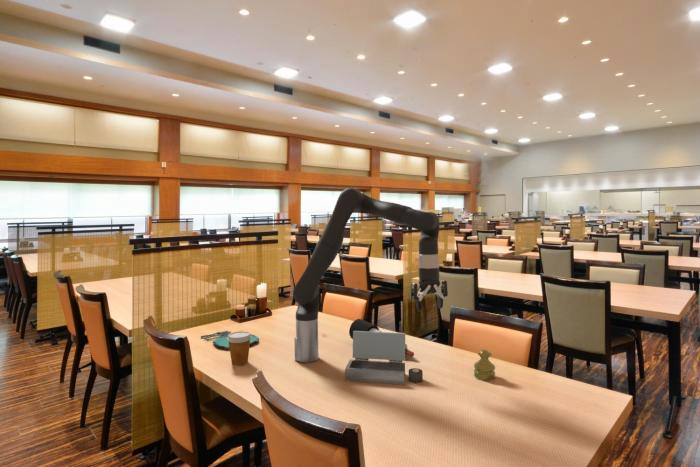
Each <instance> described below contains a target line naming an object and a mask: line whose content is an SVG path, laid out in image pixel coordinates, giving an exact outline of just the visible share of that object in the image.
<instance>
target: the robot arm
mask: <svg viewBox="0 0 700 467" xmlns="http://www.w3.org/2000/svg"><path fill="white" fill-rule="evenodd" d="M353 214H366V215H372V216H376V217H378V218H382V219H385V220H387V221H390V222H393V223H396V224H400V225H404V226H408V227H410V228H412V229H415V230H417V231H420V239H419V241H418V259H417V260H418V263H417V264H418V265H417V266H418V280H419V281H418V283H415V282H411V286H410V298H411V300H414V301H415V307H416V310H417V311H418V312H423V301H422V300H423V298H424V297H425V296H426V295H430V294H435V295H436V297H437V298H436V300H437V301H436V302H437V303H436V304H437V305H436V306H437V308H438V309H443V306H444V298H445V297H448V296H449V294H448V292H449V291H448V282H447V280H444V279H440V257H439V243H438V240H439V234H440V233H439V232H440V219H439V218H440V217H439V216H438V215H437V214H436V213H435V212H433V211H422V210H418V209H414V208H412V207H411V206H407V205H404V204H399V203H396V202H392V201H391V202H390V201H385V200H384V201H383V200H378V199H376V198H373V197H371V196H369V195H366V194H364V193H363V192H361V191H360V190H357V189H355V188H353V187H347V188H345V189H343V191H341V193H340V194H339V195H338V198H337V200H336V203H335V206H334V208H333V211H332V213H331V216H330V218H329V220H328V222H327V224H326V225H325V228H324V230H323V231H322V234H321V236H320V237H319V239H318V241H317V243H316V245H315V247H314V250H313V252H312V254H311V256H310V259H309V261H308V263H307V265H306V268H305V270H304V271H303V273H302V275H301V276H300V278H299V279H298V281H297V283H296V284H295V285H294V287H293V289H292V290H293V291H292V296H293V299H294V300H295V302H296V303H297V308H296V312H295V337H294V361H296V362H300V363H306V364H307V363H314V362H316V361H317V360H319V312H320V287H319V283H320V282H321V279H322V277H323V276H324V274H325V273H326V272H327V271H328V269H329V268H330V267H331V265H332V264H333V262H334V261H335V259H336V257H337V256H338V253H339V252H340V250H341V249H342V245H343V242H344V237H345V231H346V225H347V224H348V223H349V220H350V218H351V216H352V215H353ZM439 287H440V288H439ZM418 289H419V290H418Z"/></svg>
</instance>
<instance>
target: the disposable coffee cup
mask: <svg viewBox="0 0 700 467" xmlns="http://www.w3.org/2000/svg"><path fill="white" fill-rule="evenodd" d="M250 334H251V333H250V331H245V330H241V331H239V330H238V331H233V332H231V333H230V334H228V338H227V340H228V342H229V348H230V349H229V352H230V359H231V360H230V361H231V365H232V366H233V367H234V366H235V367H241V366H245V365H247V364H248V363H249V354H250V339H251V335H252V334H251V335H250Z"/></svg>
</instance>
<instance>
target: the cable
mask: <svg viewBox="0 0 700 467" xmlns="http://www.w3.org/2000/svg"><path fill="white" fill-rule="evenodd" d="M348 331H349V337H350V339H352V340H353V331H367V332H382V331H380V329H379V327H378V326H377V325H375V324H373V323H370V322H368V321H366V320H364V319H361V318H357V319H355V320H353V321H352V323H351V324H350V327H349V330H348ZM405 356H409V357H411V358H413V357H414V356H415V352H414V351H411V350H409V349H408V344H407V343H405Z"/></svg>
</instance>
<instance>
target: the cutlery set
mask: <svg viewBox="0 0 700 467" xmlns="http://www.w3.org/2000/svg"><path fill="white" fill-rule="evenodd" d="M230 333H232V331H228V330H225V331H216V332H214V333H211V334H205V335H204V334H203V335H201V336H200V338H201V339H203V340H206V341H207V342H209V341H211V340H213V341H212V344H214V346H216V347H219V348H223V349H226V350H230V348H229V342H228V340H227V338H228V335H229V334H230ZM250 335H251V339H250V345H253V344H255V343H256V342H260V338H259V337H258V336H256V335H255V334H251V333H250ZM213 337H214V338H213Z"/></svg>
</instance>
